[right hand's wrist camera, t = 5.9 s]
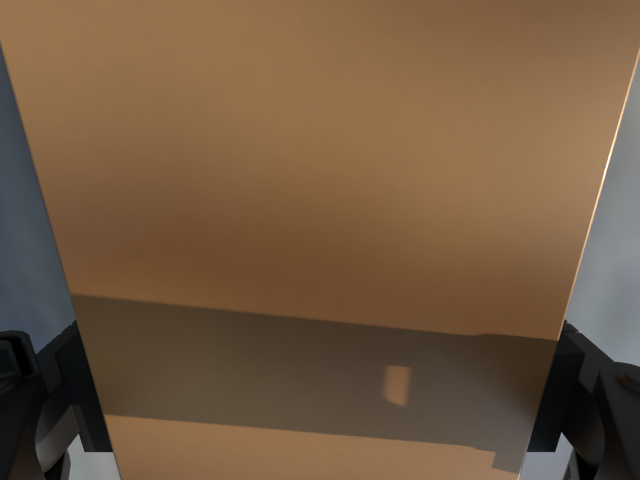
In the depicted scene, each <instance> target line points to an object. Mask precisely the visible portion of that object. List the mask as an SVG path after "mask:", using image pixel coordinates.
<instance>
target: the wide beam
mask: <svg viewBox="0 0 640 480" xmlns="http://www.w3.org/2000/svg"><path fill="white" fill-rule="evenodd" d="M0 48H1V52H2V55H3V59H4V62H5V66H6V69H7V73H8V77H9V80H10V84H11V87H12V91H13V95H14V98H15V102H16V105H17V109H18V113H19V116H20V120H21V123H22V127H23V130H24V134H25V138H26V141H27V145H28V148H29V152H30V156H31V159H32V163H33V166H34V170H35V173H36V177H37V181H38V184H39V188H40V191H41V195H42V199H43V202H44V206H45V209H46V213H47V217H48V220H49V224H50V227H51V231H52V234H53V238H54V242H55V245H56V249H57V252H58V256H59V260H60V263H61V267H62V270H63V274H64V278H65V281H66V285H67V288H68V292H69V295H70V299H71V303H72V306H73V310H74V313H75V317H76V321H77V324H78V328H79V331H80V335H81V338H82V342H83V346H84V349H85V353H86V356H87V360H88V364H89V367H90V371H91V374H92V378H93V382H94V385H95V389H96V392H97V396H98V399H99V403H100V407H101V410H102V414H103V417H104V421H105V425H106V428H107V432H108V435H109V439H110V443H111V446H112V450H113V453H114V457H115V460H116V464H117V468H118V471H119V475H120V478H121V480H519V477H520V474H521V470H522V467H523V463H524V460H525V456H526V453H527V449H528V446H529V442H530V439H531V435H532V432H533V428H534V425H535V421H536V418H537V414H538V411H539V407H540V404H541V400H542V396H543V393H544V389H545V386H546V382H547V379H548V375H549V372H550V368H551V365H552V361H553V358H554V354H555V351H556V347H557V344H558V340H559V337H560V333H561V330H562V326H563V323H564V319H565V316H566V312H567V309H568V305H569V302H570V298H571V295H572V291H573V288H574V284H575V281H576V277H577V274H578V270H579V267H580V263H581V260H582V256H583V253H584V249H585V246H586V242H587V239H588V235H589V232H590V228H591V225H592V221H593V218H594V214H595V211H596V207H597V204H598V200H599V197H600V193H601V190H602V186H603V183H604V179H605V176H606V172H607V169H608V165H609V162H610V158H611V154H612V151H613V147H614V144H615V140H616V137H617V133H618V130H619V126H620V123H621V119H622V116H623V112H624V109H625V105H626V102H627V98H628V95H629V91H630V88H631V84H632V81H633V77H634V74H635V70H636V67H637V63H638V60H639V56H640V0H0Z"/></svg>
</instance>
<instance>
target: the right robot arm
mask: <svg viewBox="0 0 640 480" xmlns="http://www.w3.org/2000/svg"><path fill="white" fill-rule="evenodd" d="M561 432H562V433H563V434H564V436H565V437H566V438H567V440H568V441H569V442H570V444H571V445H572V446H573V450H572V453H571V456H570V459H569V462H568V465H567V468H566V471H565V474H564V477H563V480H640V367H639V366H635V365H632V364H627V363H621V362H614V361H613V360H612V359H611V358H609V357H608V356H607V355H606V354H605V353H604V352H603V351H601V350H600V349H599V348H598V347H597V346H596V345H594V344H593V343H592V342H591V341H590V340H589V339H587V338H586V337H585V336H584V335H583V334H582V333H579V332H578V330H577V329H576V328H575V327H573V326H572V325H571V324H568V321H566V320H565V319H564V323H563V326H562V330H561V333H560V337H559V340H558V344H557V347H556V351H555V354H554V358H553V361H552V365H551V368H550V372H549V375H548V379H547V382H546V386H545V389H544V393H543V396H542V400H541V404H540V407H539V411H538V414H537V418H536V421H535V425H534V428H533V432H532V435H531V439H530V442H529V446H528V449H527V452H555V451H556V447H557V444H558V441H559V438H560V435H561ZM78 433H79V436H80V439H81V442H82V445H83V448H84V452H113V450H112V446H111V443H110V439H109V435H108V432H107V428H106V425H105V421H104V417H103V414H102V410H101V407H100V403H99V399H98V396H97V392H96V389H95V385H94V382H93V378H92V374H91V371H90V367H89V364H88V360H87V356H86V353H85V349H84V346H83V342H82V338H81V335H80V331H79V328H78V324H77V321H76V320H75V321H74V322H73V323H72V325H69V326H68V327H67V328H66V329H65V330H64V331H62V334H61V335H58V336H57V337H56V338H54V339H53V340H52V341H51V342H50V343H49V344H47V345H46V346H45V347H44V348H43V349H42V350H41V351H39V352H38V353H37V354H35V351H34V348H33V345H32V343H31V340H30V337H29V334H27V333H25V332H23V331H13V330H11V331H4V332H0V480H68V479H69V472H70V466H71V462H70V456H69V453H68V450H67V448H68V447H69V445H70V444H71V443H72V441H73V440H74V439H75V437H76V436H77V435H78Z"/></svg>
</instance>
